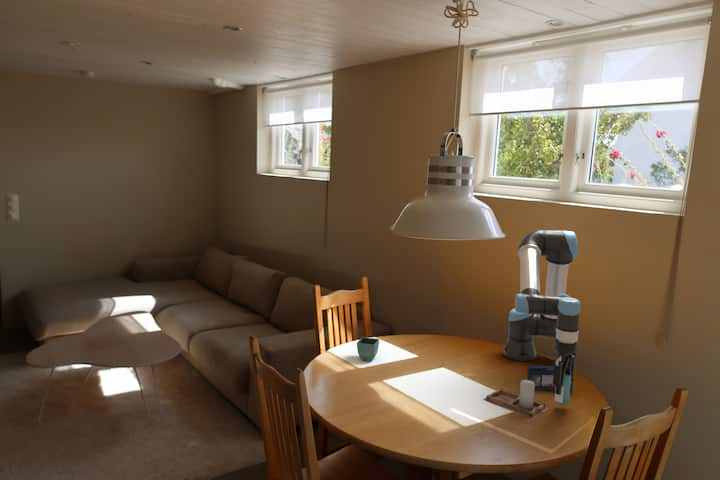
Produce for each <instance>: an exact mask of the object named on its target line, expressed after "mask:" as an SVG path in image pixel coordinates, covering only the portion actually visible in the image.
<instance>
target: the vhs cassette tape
mask: <svg viewBox="0 0 720 480" xmlns="http://www.w3.org/2000/svg"><path fill="white" fill-rule="evenodd" d="M553 374H554V365H528V366H527V378H526V380H530V381H532V382H534V383H535V387H534V390H537V389H538V390H542V391H546V392H555V388H556V385H553ZM572 379H574V377H573V378H572ZM573 387H574V380H573V381H571V383H570V392H572V391H573V389H574V388H573Z"/></svg>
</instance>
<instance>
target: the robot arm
mask: <svg viewBox="0 0 720 480" xmlns="http://www.w3.org/2000/svg"><path fill="white" fill-rule="evenodd" d="M578 249H579V248H578V239H577V234H576V233H575V232H574V231H573V230H571V231H569V230H565V229H564V230H555V229H536V230H531V231H530V232H529V233H527V234H526V235H524V237H523V238H522V239H521V241H520V242H519V244H518V247H517V255H518V258H519V260H520V262H519V263H520V264H519V265H520V271H519V272H520V277H519V278H520V279H519V280H520V285H519V286H520V288H519V292H520V293H516V294H515V301H514V302H515V303H514V308H512V309H510V311H509V317H508V333H507V334H508V335H507V340H506V343H505V344H504V348H503V352H502V353H503V356H505V358H508V359H509V360H510V359H511V360H514V361H522V362H529V361H533V360H535V359H537V351H536V346H535V344H534V337H540V338H541V337H542V338H549V339H550V338H551V339H555V340H554V341H555V342H554V349H555V350H556V352H557V351H558V355H557V359H554V360H553V366H554V374H553V385H556V388H555V391H554V402H556V401H557V402H559V403H558V404H560V403H562V402H563V389H564V386H563V380H564V375H565V374H568V375H570V376H571V381H573V382H574V380H575V379H574V378H573V377H574V375H575V365H576V356H577V351H578V341H579V327H580V326H579V324H580V316H581V315H580V313H581V312H582V311H581V302H580V300H579V299H577V298H574V297H571V296H570V295H569V294H566V291H567V284H568V283H567V281H568V274H569V273H568V272H569V266H570V265H571V264H572V263H573V262H574V259H577V258H578V253H579V252H578V251H579V250H578ZM541 257H544V258H545V259H544V260H545V261H546V262H547V263H548V264H547V274H546V281H545V282H546V283H545V293H544V294H545V295H543V294H541V282H540V281H541V279H540V258H541ZM572 378H573V379H572ZM557 402H556V403H557Z"/></svg>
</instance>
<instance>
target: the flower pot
mask: <svg viewBox="0 0 720 480" xmlns="http://www.w3.org/2000/svg"><path fill="white" fill-rule="evenodd" d="M379 343H380V339H379V338H373V337H364V336H363V337H360V339H358V340H357V342H356V349H357V354H358V357H359V359H360V360H362V361H365V360H366V362H367V361H368V362H373V360H374V359H375V357H376V356H377V353H378V352H379V346H380V345H379Z"/></svg>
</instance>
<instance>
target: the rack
mask: <svg viewBox="0 0 720 480" xmlns="http://www.w3.org/2000/svg"><path fill="white" fill-rule="evenodd" d="M482 400H483V401H485V402H488V403H491V404H492V405H496V406H498V407H501V408H503V409H505V410H509V411H512V412H514V413H516V414H519V415H520V416H524V417H527V418H529V419H531V420H535V419H536V418H537V417H539V416H540V415H541V414H543V413H545V412H547V410H549V408H550V407H549V408H548V407H546V404H545V403H542V402H539V401H537V400H534V402H533V410H532V411H529V410H526V409H523V408H521V407H519V400H520V394H517V393H514V392H511V391H508V390H506V389H503V388H499V389H497V390H495V391H493V392H491V393H489V394H487V395H486V397H485V398H483V399H482Z"/></svg>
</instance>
